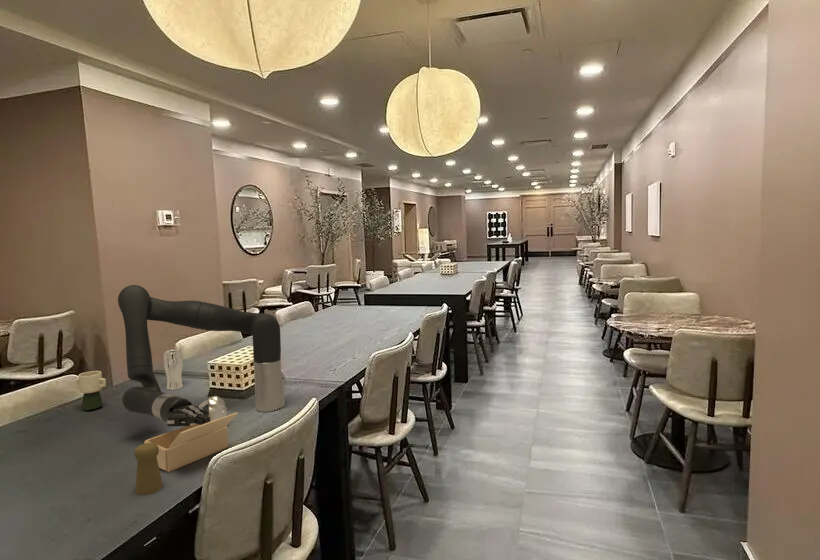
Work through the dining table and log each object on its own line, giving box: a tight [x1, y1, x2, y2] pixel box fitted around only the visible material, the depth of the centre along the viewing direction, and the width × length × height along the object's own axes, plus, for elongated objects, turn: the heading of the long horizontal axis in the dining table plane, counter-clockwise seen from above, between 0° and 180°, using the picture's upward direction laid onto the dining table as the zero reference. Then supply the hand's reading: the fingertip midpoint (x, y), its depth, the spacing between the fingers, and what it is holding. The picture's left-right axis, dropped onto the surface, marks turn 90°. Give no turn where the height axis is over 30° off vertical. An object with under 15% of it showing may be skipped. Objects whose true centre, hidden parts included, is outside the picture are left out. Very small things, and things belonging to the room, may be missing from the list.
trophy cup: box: [75, 370, 107, 411], centre depth 181 cm, size 11×7×13 cm, turn 88°
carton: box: [143, 424, 229, 473], centre depth 142 cm, size 19×12×6 cm, turn 146°
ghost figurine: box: [198, 395, 228, 422], centre depth 162 cm, size 9×10×10 cm
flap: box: [169, 411, 238, 448], centre depth 136 cm, size 17×1×8 cm
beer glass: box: [163, 349, 184, 391], centre depth 205 cm, size 7×7×15 cm
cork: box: [134, 443, 164, 496], centre depth 123 cm, size 6×6×11 cm
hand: (207, 421), depth 135 cm, fingers closed
